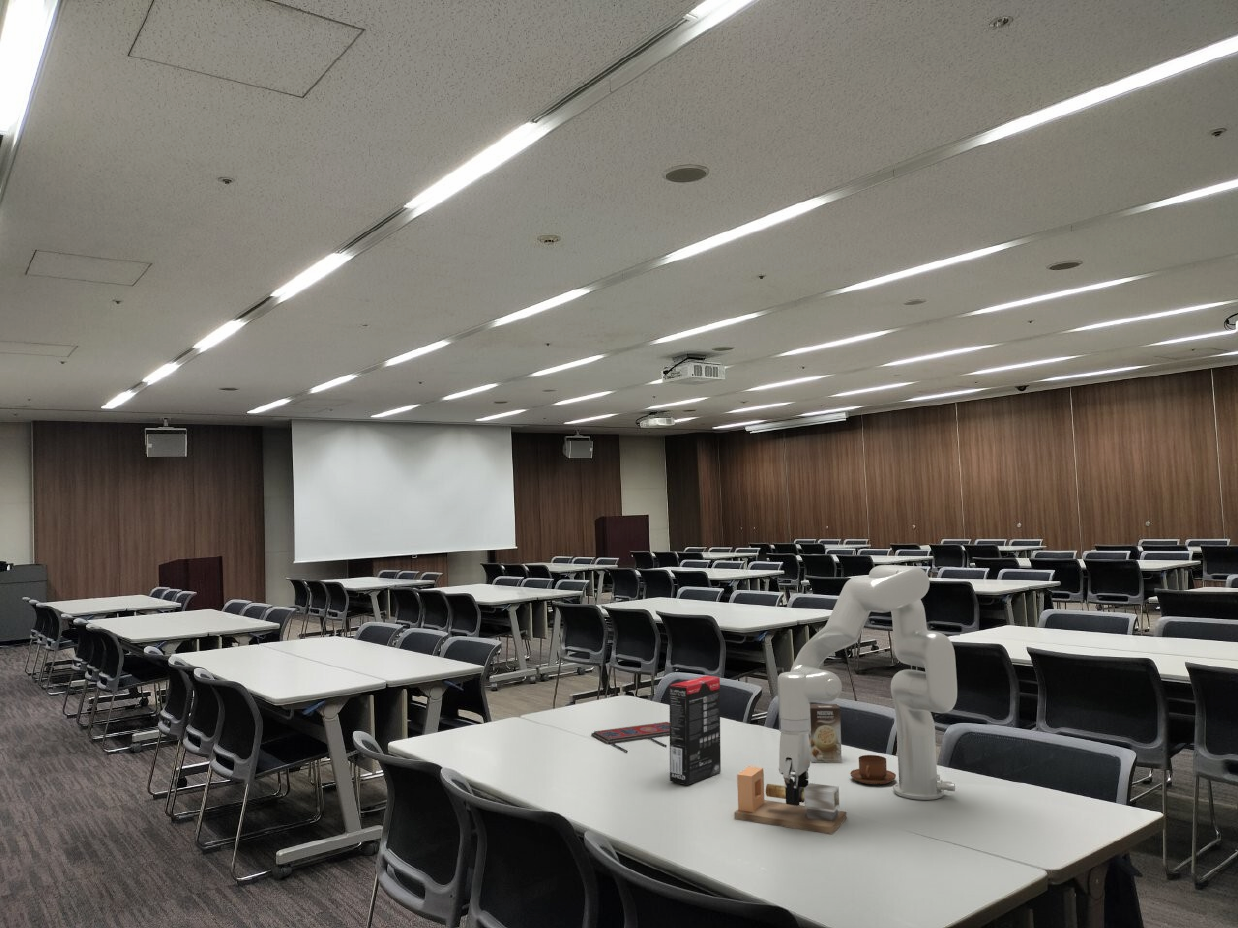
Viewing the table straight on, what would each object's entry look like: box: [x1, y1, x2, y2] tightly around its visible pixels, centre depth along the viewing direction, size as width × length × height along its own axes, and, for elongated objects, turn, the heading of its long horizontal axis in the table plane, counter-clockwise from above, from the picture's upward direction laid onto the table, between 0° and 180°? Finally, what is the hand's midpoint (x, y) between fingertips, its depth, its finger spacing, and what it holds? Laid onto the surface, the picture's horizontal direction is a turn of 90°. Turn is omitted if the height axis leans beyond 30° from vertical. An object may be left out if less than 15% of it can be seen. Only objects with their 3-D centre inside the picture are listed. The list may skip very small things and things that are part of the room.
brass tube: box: [765, 783, 836, 806], centre depth 209 cm, size 16×4×4 cm, turn 60°
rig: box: [733, 782, 847, 835], centre depth 210 cm, size 24×12×8 cm, turn 60°
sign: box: [590, 721, 670, 753], centre depth 291 cm, size 27×2×30 cm
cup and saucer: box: [849, 754, 897, 785], centre depth 238 cm, size 12×12×6 cm
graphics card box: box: [668, 675, 722, 786], centre depth 246 cm, size 17×7×27 cm, turn 141°
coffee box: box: [808, 703, 843, 764], centre depth 261 cm, size 9×6×16 cm
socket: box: [736, 765, 765, 812], centre depth 215 cm, size 4×8×8 cm, turn 150°
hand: (797, 799), depth 209 cm, fingers open, 6 cm apart
